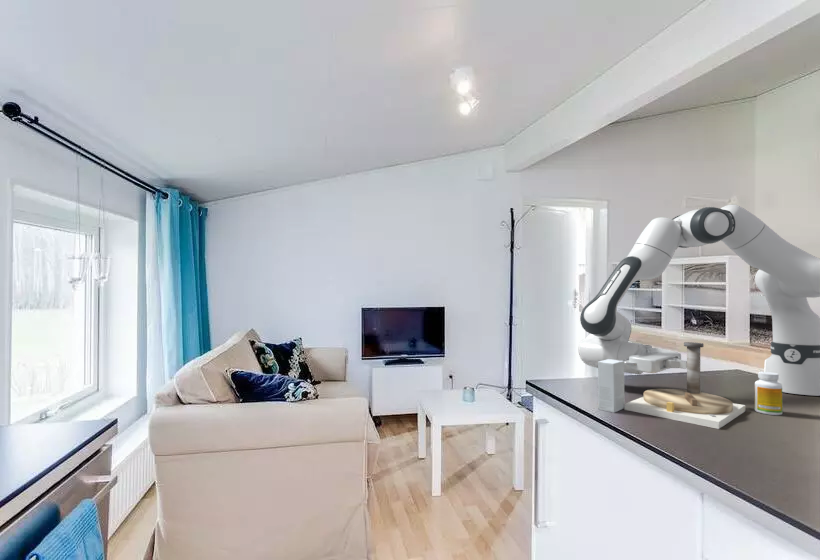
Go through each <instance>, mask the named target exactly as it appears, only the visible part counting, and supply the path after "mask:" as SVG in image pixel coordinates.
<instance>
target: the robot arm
mask: <svg viewBox="0 0 820 560" xmlns="http://www.w3.org/2000/svg"><path fill="white" fill-rule="evenodd" d="M720 241H721V242H722V243H724V244H725V245H726V246H727V247H728V248H729V249H730V250H731V251H732V252H734V253H735V255H737V256H738V257H739V258H740V259H741V260H743V261H744V262H745V263H746V264H747V265H748V266H750V267H752V268H754V269H758V270H757V271H756V273H755V276H754V283H755V286H756V288H757V289H758V290H759V291H760V292H762V294H763V296H764V297H765V299H766V302H767V304H768V307H769V311H770V314H771V319H772V321H771V325H772V327H771V328H772V341H771V342H770V346H769V347H770V353H771V355H770V356H769V357H767V358H766V359H764V367H763V372H772V373H777V374H779V380H777V381H778V382H779V383H780V384H781V385H782V393H788V394H795V395H802V396H804V395H805V396H820V317H819V315H818V313H815V312H814V311H813V309H812V308H811V306H810V304H809V301H808V298H813V299H815V298H820V257H817V256H815V255H812V254H811V253H809V252H807V251H805V250H804V249H802V248H799V247H797V246H795V245H794V244H792V243H790V242H788V241H787V240H786V239H784V238H782V237H781V235H779V234H778V233H777V232H775V231H774V229H772V228H771V227H770V226H768V225H767V224H766V223H765V222H764V221H763V220H761V219H760V218H759V217H758V216H756V215H755V214H753V213H752V212H751V211H749V210H747V209H745V208H744V207H742V206H740V205H738V204H727V205H724V206H722V207H720V208H719V207H715V206H713V207H712V206H711V207H710V206H706V207H703V208H696V209H693V210H689V211H687V212H685V213H683V214H679V215H676V216H675V217H673V218H670V217H665V216H662V217H661V216H659V217H655V218H653V219H651V221H650V222H649V223H648V224H647V225H646V226H645V228H644V229H643V230H642V231H641V233H640V234H639V236H638V237H637V240H635V243H634V244H633V247H632V248H631V250H630V251H629V253H628V254H627V255H626V257H624V258H623V259H621V261H619V263H618V264H617V265H616V267H615V268H613V271H612V272H611V274H610V275H609V277H608V278H607V280H605V282H604V284H603V285H602V287H601V288H600V290H599V292H598V293H597V294H596V295H595V296H594V298H593V299H591V300H590V301H589V302H588V303H587V304H586V305H585V306H584V307H583V309H582V311H581V313H580V316H579V317H580V318H579V322H580V324H581V327H582V329H583V330H584V331H585V332H587V333H588V335H587V336H586V337H585V338H584V339H582V340H580V342H579V344H578V354H579V357H580V360H581V361H582V362H583V363H584V364H585V365H586V366H589V367H592V368H596V369H598V362H599V361H603V360H607V359H612V360H620V361H624V373H626V374H633V375H634V374H635V375H639V376H640V375H642V374H643V373H647V374H648V373H649V374H656V373H657V374H658V373H660V372H663V371H666V370H669V369H684V370H687V360H682V353H680V352H678V351H674V350H669V349H663V348H659V347H653V346H652V345H649V344H642V343H640V342H639V343H638V342H637V343H636V342H629V340H630V337H631V333H632V324H631V321H629V319H628V318H627V317H626V316H625V315H623V314H622V313H620V312H619V311H618V306H619V304H620V302H621V300H622V299H623V298H624V296H625V295H626V293H627V291H628V290H629V289H630V287H632V285H633V284H634V283H635V282H637V281H649V280H654V279H657V278H659V277H660V276H661V275H662V274H663V273H664V272H665V270H666V269H667V268H668V266H669V264H670V262H671V260H672V259H673V256H674V254H675V252H676V251H677V249H678V248H683V249H685V248H686V249H687V248H697V247H703V246H706V245H708V244H711V245H712V244H715V243H718V242H720Z"/></svg>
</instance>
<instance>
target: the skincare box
mask: <svg viewBox="0 0 820 560" xmlns="http://www.w3.org/2000/svg"><path fill="white" fill-rule="evenodd" d="M597 409H598V410H599V411H603V412H604V411H605V412H609V413H617V412H619V411H621V410H623V409H624V410H625V372H624V361H620V360H612V359H607V360H603V361H599V362H598V368H597Z"/></svg>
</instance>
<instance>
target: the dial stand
mask: <svg viewBox="0 0 820 560" xmlns="http://www.w3.org/2000/svg"><path fill="white" fill-rule="evenodd" d="M624 411H629V412H634V413H635V412H636V413H638V414H644V415H648V416H649V415H650V416H654V417H659V418H663V419H667V420H673V421H679V422H681V423H688V424H692V425H696V426H697V425H698V426H702V427H706V428H707V427H708V428H712V429H717V430H719V429H721V428H722V427H724V426H725V425H727V424H729V423H730V422H731V421H733V420H734V419H736V418H738V417H739V416H741V415H742V414H744V413H745V412H746V405H745V404H739V403H734V402H733V410H732V411H731V412H729V413H723V414H700V413H689V412H682V411H676V410H674V403H672V402H667V409H666V408H662V407H658V406H655V405H652V404H649V403H647V402H646V401H644V396H642V397H639V398H638V397H637V398H636V399H633V400H631V401H628V402H624Z"/></svg>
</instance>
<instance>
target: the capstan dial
mask: <svg viewBox="0 0 820 560" xmlns="http://www.w3.org/2000/svg"><path fill="white" fill-rule="evenodd" d="M683 346H684V347H686V361H687V368H686V389H679V388H678V389H675V388H653V389H647V390H645V391H643V397H644V401H646V402H647V403H649V404H652V405H655V406H658V407H662V408H666V409H667V402H672V403H674V410H676V411H682V412H689V413H700V414H723V413H729V412H731V411H732V410H733V403H734V402H733V401H732V400H730V399H728V398H725V397H723V396H720V395H716V394H711V393H709V392H708V393H707V392H702V391H701V348H704V346H705V345H704V343H701V342H695V341H694V342H692V341H691V342H690V341H687V342H686V341H685V342H683Z"/></svg>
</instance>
